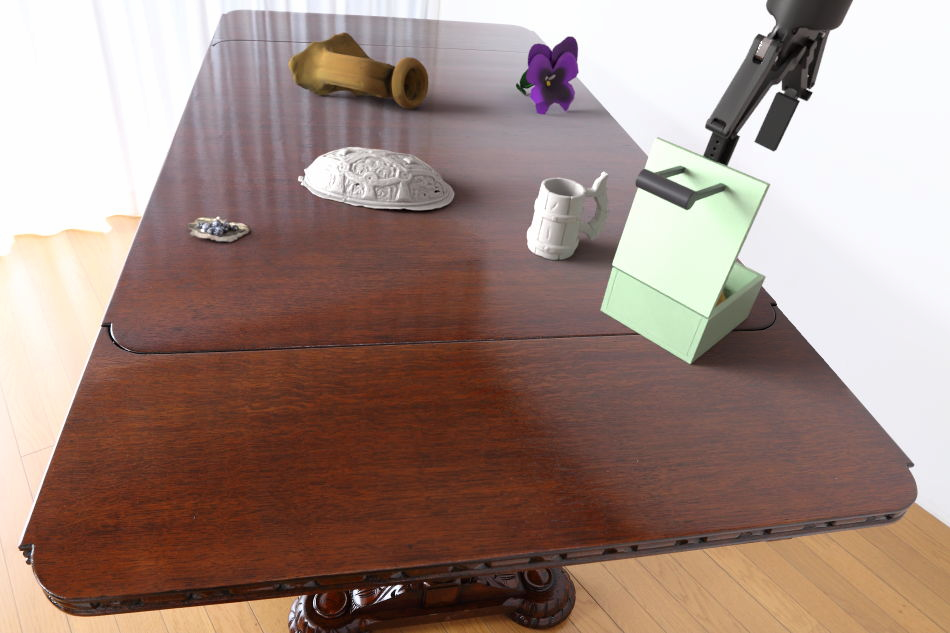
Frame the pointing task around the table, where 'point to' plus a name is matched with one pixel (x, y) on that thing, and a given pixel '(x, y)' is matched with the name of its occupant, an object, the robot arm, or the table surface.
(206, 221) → the blueberries
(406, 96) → the brown looped sculpture
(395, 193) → the ornate oval dome
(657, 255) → the lunchbox lid
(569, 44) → the flower
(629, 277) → the box
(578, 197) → the mug
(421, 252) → the table surface
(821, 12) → the robot arm
